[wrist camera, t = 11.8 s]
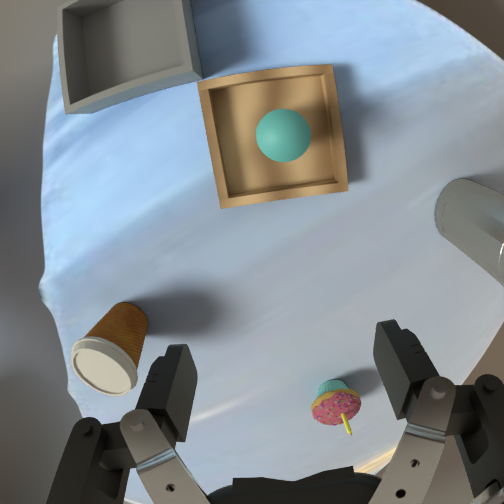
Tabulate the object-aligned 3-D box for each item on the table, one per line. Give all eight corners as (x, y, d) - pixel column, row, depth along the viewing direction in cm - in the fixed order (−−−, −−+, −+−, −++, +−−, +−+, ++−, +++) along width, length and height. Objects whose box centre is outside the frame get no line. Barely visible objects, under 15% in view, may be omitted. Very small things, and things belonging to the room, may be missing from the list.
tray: (325, 69, 29) (332, 64, 26) (341, 185, 34) (348, 190, 31) (201, 85, 30) (196, 82, 27) (223, 201, 35) (220, 208, 32)
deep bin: (186, -21, 23) (175, -42, 18) (203, 79, 29) (192, 70, 24) (81, 18, 25) (56, 7, 19) (91, 113, 30) (65, 114, 25)
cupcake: (322, 368, 46) (335, 426, 35) (364, 375, 47) (382, 429, 36) (300, 399, 49) (307, 454, 38) (340, 404, 50) (352, 455, 39)
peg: (292, 111, 30) (306, 105, 22) (299, 150, 32) (314, 158, 23) (252, 117, 30) (251, 113, 22) (259, 156, 32) (261, 165, 24)
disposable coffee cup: (92, 296, 41) (55, 345, 30) (145, 289, 40) (113, 344, 29) (116, 344, 45) (89, 396, 34) (167, 341, 44) (146, 399, 33)
